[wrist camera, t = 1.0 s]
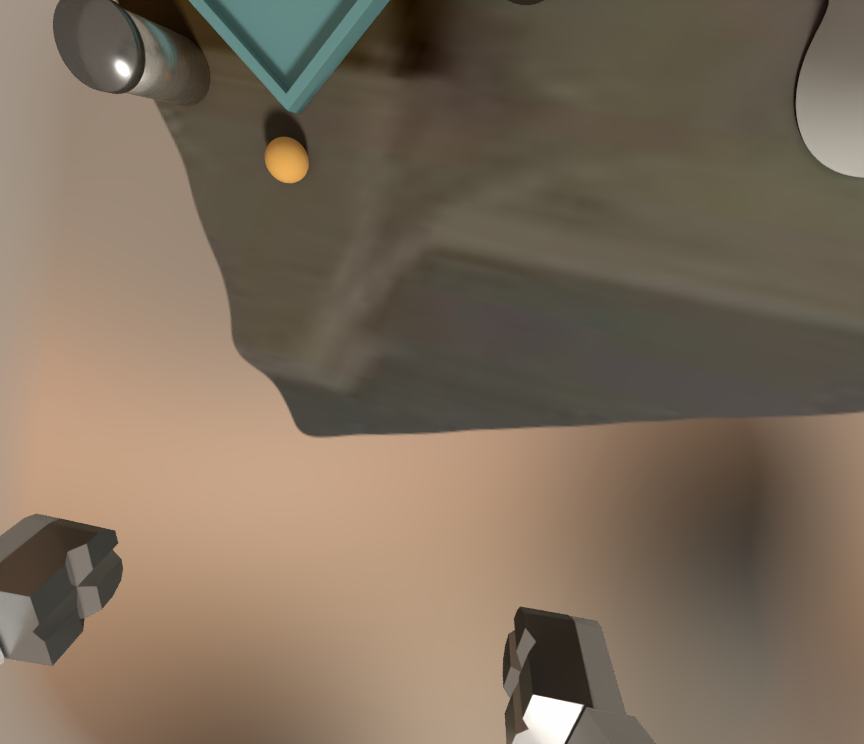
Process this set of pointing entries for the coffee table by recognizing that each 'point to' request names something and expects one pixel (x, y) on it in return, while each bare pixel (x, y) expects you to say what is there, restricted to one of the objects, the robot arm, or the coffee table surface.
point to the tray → (291, 39)
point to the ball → (286, 159)
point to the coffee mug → (525, 2)
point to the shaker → (128, 53)
